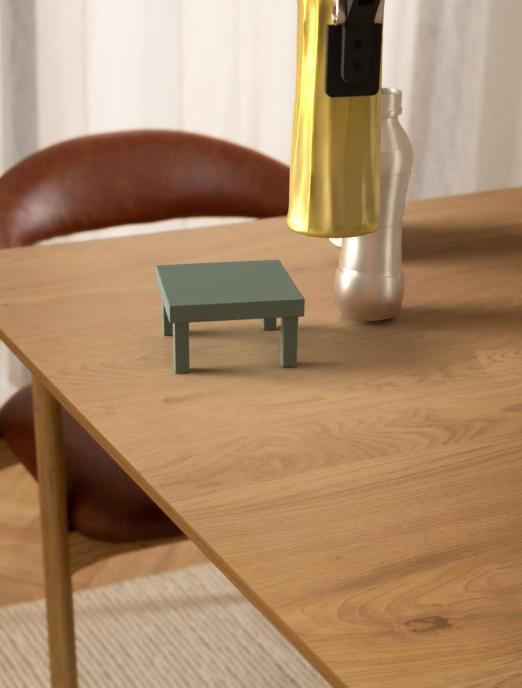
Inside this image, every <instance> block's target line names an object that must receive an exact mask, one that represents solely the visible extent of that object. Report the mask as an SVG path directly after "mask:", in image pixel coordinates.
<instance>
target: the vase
mask: <svg viewBox="0 0 522 688" xmlns="http://www.w3.org/2000/svg"><path fill="white" fill-rule="evenodd" d="M385 3H386V0H384V5H385ZM296 6H297V7H296V10H297V11H296V15H297V16H296V54H295V55H296V56H295V57H296V58H295V59H296V60H295V61H296V63H295V86H294V87H295V89H294V90H295V91H294V100H293V101H294V104H293V114H292V124H291V125H292V126H291V147H290V148H291V149H290V161H289V163H290V164H289V188H288V191H289V193H288V197H289V198H288V211H287V215H286V220H285V223H286V226H287V227H288V229H290V231H292V232H294V233H296V234H299V235H303V236H307V237H311V238H312V237H313V238H319V239H328V238H350V237H358V236H363V235H367V234H370V233H372V232H374V231H376V230H377V229H378V228H379V227H380V224H381V217H380V147H381V92H382V88H383V52H384V51H383V48H384V47H383V46H384V19H385V18H383V22H382V23H383V25H382V44H381V63H380V83H379V91H378V93H377V94H376V95H373V96H354V97H329V96H328V95H327V94H326V93H325V90H324V86H325V53H326V24H333V20H332V0H296Z"/></svg>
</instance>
